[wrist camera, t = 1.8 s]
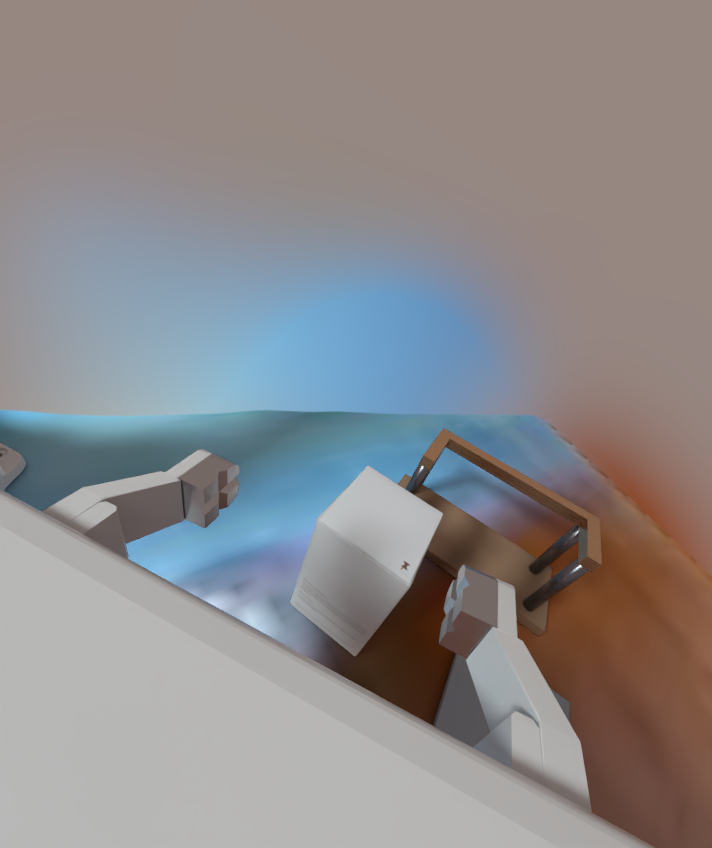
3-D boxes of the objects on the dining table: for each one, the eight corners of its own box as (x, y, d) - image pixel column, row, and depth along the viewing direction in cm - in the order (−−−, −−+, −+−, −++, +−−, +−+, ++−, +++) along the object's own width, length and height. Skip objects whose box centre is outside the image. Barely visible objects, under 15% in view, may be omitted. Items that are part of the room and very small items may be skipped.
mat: (426, 745, 25) (429, 744, 25) (463, 628, 33) (466, 625, 32) (558, 861, 22) (564, 862, 22) (565, 704, 30) (569, 702, 30)
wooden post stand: (389, 515, 39) (423, 455, 33) (410, 485, 44) (443, 428, 38) (532, 614, 35) (602, 565, 29) (539, 569, 39) (599, 518, 33)
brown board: (372, 519, 40) (375, 513, 39) (402, 479, 46) (405, 473, 45) (538, 636, 34) (545, 631, 33) (545, 572, 41) (551, 567, 40)
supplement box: (392, 589, 34) (448, 514, 26) (354, 660, 28) (411, 590, 21) (332, 544, 36) (368, 462, 28) (286, 602, 30) (315, 518, 22)
